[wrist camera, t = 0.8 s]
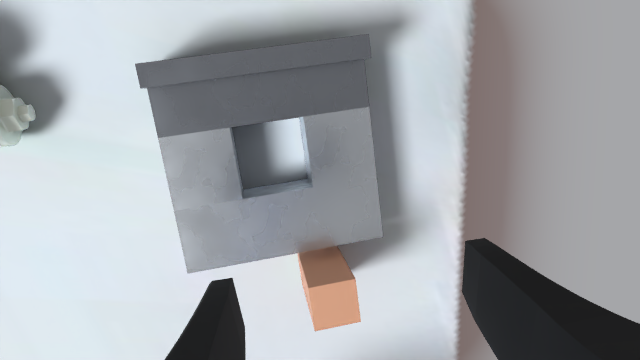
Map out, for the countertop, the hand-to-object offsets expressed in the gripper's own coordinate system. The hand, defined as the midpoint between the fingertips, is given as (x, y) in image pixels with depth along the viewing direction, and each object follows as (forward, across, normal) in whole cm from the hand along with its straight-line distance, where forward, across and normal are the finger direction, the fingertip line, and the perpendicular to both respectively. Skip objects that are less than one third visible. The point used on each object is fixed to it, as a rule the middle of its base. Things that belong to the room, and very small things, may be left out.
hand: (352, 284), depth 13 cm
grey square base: (+15, +3, +2) cm, 16 cm away
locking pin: (+13, 0, +10) cm, 17 cm away
